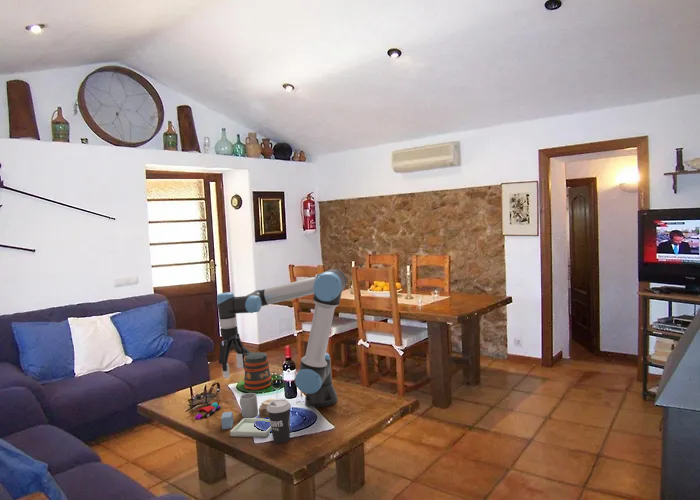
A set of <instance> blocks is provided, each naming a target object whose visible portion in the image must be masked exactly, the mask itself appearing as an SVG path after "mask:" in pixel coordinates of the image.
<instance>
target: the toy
mask: <svg viewBox="0 0 700 500" xmlns="http://www.w3.org/2000/svg"><path fill="white" fill-rule="evenodd" d="M223 407H224V405H222V403H220V402H213V403H211V405H208V406H207V405H206V406H204V407H200V408H196V410H197V413H196V415H195V418H194V419H195V420H197V419H198V420H199V421H201V418H203V417H205V416H206V417H207V418H209V417H210V416H212V415H213V414H214V412H216V410H218V409H220V408H223Z"/></svg>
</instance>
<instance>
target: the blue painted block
mask: <svg viewBox="0 0 700 500" xmlns="http://www.w3.org/2000/svg"><path fill="white" fill-rule="evenodd" d="M220 420H221V428H222V429H221V430H227V429H229V430H230V429H233V425H234V415H233V411H224V412H222V415H221V418H220Z"/></svg>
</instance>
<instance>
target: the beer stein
mask: <svg viewBox="0 0 700 500" xmlns="http://www.w3.org/2000/svg"><path fill="white" fill-rule="evenodd" d="M243 347H244V353H242V358H243V368H242V369H244V378H243V381H244V385H243V387H244V388H245V389H246V390H248V389H250V390H249V391H260V390H264V388H265V389H267V388H266V387H268V386H269V387H270V385H271V381H272V382H273V379H272V375H271V371H270V363H269V358H268V354H267V353H265V352H262V351H261V352H257V351H256V352H253V351H249V349H248V348H247V347H245V346H243ZM271 386H272V385H271ZM269 387H268V388H269Z"/></svg>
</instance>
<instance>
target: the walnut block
mask: <svg viewBox="0 0 700 500" xmlns="http://www.w3.org/2000/svg"><path fill="white" fill-rule="evenodd" d="M267 406H268V405H262V404H260V405H259V407H258V415H259V418H267V417H269V414H268V411H267Z"/></svg>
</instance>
